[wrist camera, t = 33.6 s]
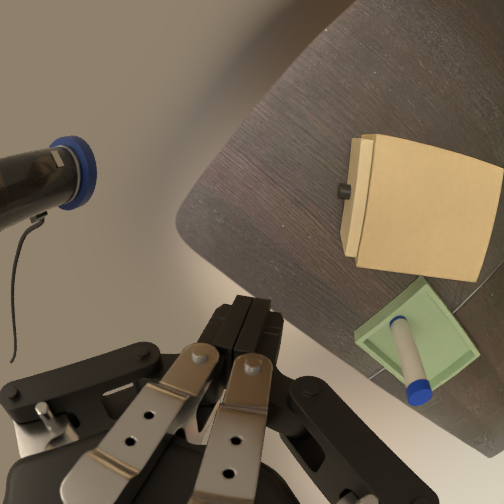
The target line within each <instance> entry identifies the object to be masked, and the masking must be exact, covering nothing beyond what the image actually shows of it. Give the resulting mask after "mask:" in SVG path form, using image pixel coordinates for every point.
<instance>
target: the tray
mask: <svg viewBox="0 0 504 504" xmlns="http://www.w3.org/2000/svg"><path fill="white" fill-rule="evenodd" d="M399 315H401V316H404V317H405V318H406V319H407V322H408V325H409V327H410V330H411V333H412V335H413V338H414V341H415V344H416V346H417V349H418V352H419V355H420V358H421V361H422V364H423V367H424V370H425V373H426V376H427V380H428V381H429V383H430V386H431V390H432V391H433V390H435V389H436V388H438V387H439V386H440V385H442V384H443V383H445V382H446V381H448V380H449V379H450V378H452V377H453V376H454V375H456V374H457V373H458V372H460V371H461V370H462V369H464V368H465V367H466V366H467V365H469V364H470V363H471V362H472V361H474V360H475V359H476V358H477V357H479V356H480V353H479V351H478V349H477V348H476V346H475V344H474V343H473V341H472V340H471V339H470V337H469V336H468V334H467V333H466V331H465V330H464V329H463V327H462V326H461V324H460V323H459V322H458V320H457V319H456V318H455V316H454V315H453V314H452V312H451V311H450V310H449V308H448V307H447V306H446V304H445V303H444V302H443V300H442V299H441V298H440V297H439V295H438V294H437V293H436V292H435V290H434V289H433V288H432V287H431V285H430V284H429V283H428V282H427V281H426V279H425V278H424V277H423V276H422V275H420V276H419V277H418V278H417V279H416V280H415V281H414V282H413V283H412V284H410V285H409V286H408V287H407V288H406V289H405V290H404V291H403V292H401V293H400V294H399V295H398V296H397V297H396V298H395V299H393V300H392V301H391V302H390V303H389V304H387V305H386V306H385V307H384V308H383V309H381V310H380V311H379V312H378V313H377V314H375V315H374V316H373V317H372V318H370V319H369V320H368V321H367V322H365V323H364V324H363V325H361V326H360V327H359V328H358V329H356V330H355V331H354V339H355V343H356V344H357V345H359V346H360V347H361V348H362V349H363V350H365V351H366V352H367V353H368V354H369V355H370V356H372V357H373V358H374V359H375V360H376V361H378V362H379V363H380V364H381V365H382V366H384V367H385V368H386V369H387V370H388V371H390V372H391V373H392V374H393V375H394V376H396V377H397V378H398V379H399V380H400V381H401V382H403V383H404V384H405V381H404V377H403V373H402V369H401V365H400V361H399V357H398V353H397V349H396V346H395V342H394V339H393V335H392V332H391V329H390V321H391V320H392V319H393V318H394V317H396V316H399Z"/></svg>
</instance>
